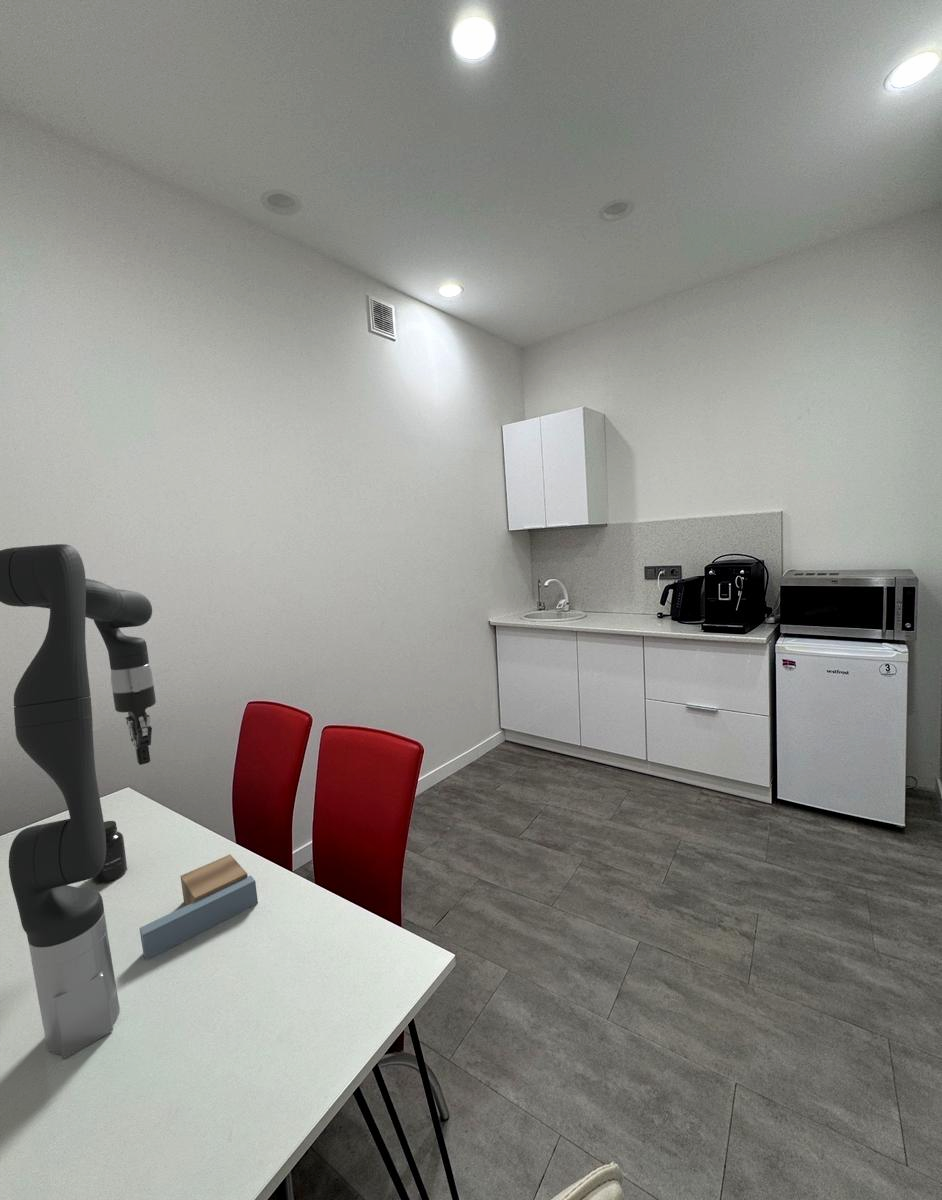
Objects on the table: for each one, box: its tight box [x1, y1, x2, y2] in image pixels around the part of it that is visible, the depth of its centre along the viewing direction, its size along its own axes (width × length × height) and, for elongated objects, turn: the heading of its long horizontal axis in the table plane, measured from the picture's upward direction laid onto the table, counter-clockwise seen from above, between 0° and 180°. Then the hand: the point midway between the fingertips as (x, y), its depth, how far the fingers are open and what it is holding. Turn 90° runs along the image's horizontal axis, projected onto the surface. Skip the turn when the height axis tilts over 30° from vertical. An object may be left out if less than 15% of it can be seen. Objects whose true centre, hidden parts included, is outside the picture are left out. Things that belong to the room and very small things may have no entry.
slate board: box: [139, 875, 259, 961], centre depth 102 cm, size 2×20×5 cm, turn 133°
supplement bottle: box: [90, 820, 128, 885], centre depth 120 cm, size 7×7×12 cm
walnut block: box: [180, 854, 249, 906], centre depth 109 cm, size 10×10×6 cm
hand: (144, 762), depth 115 cm, fingers closed
